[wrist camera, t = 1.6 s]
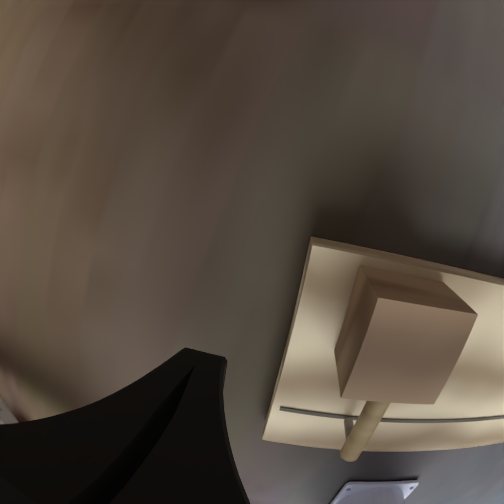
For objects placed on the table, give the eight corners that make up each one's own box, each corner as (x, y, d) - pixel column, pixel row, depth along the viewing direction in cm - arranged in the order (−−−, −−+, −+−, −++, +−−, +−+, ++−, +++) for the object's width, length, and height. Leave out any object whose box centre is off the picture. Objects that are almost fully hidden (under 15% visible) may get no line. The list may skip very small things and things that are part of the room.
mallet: (379, 425, 17) (389, 469, 14) (308, 418, 18) (308, 466, 14) (443, 282, 14) (477, 314, 11) (359, 265, 15) (378, 297, 11)
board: (545, 420, 18) (553, 431, 16) (265, 420, 21) (261, 440, 19) (604, 305, 14) (616, 313, 12) (310, 236, 17) (312, 245, 15)
